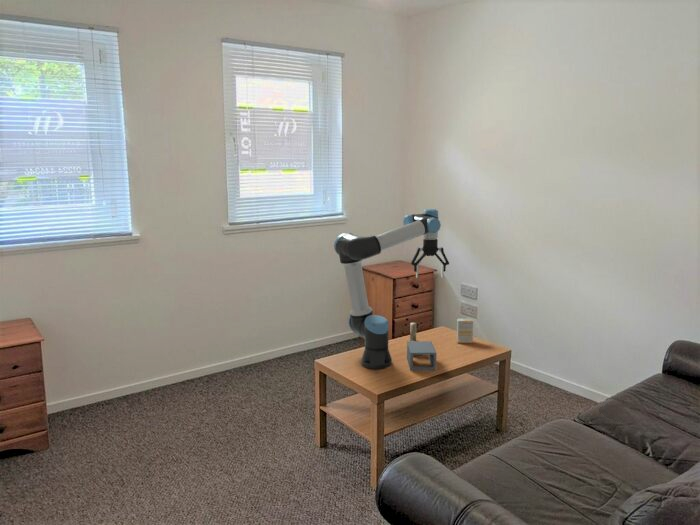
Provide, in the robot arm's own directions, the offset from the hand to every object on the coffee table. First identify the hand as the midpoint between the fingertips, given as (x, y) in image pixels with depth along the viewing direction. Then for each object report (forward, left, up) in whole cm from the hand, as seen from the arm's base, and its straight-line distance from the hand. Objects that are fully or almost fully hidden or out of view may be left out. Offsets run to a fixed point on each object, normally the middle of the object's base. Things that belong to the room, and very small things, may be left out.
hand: (429, 277), depth 296 cm
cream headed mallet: (-8, -7, -37) cm, 38 cm away
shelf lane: (-8, -31, -37) cm, 49 cm away
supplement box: (+20, 0, -37) cm, 42 cm away
